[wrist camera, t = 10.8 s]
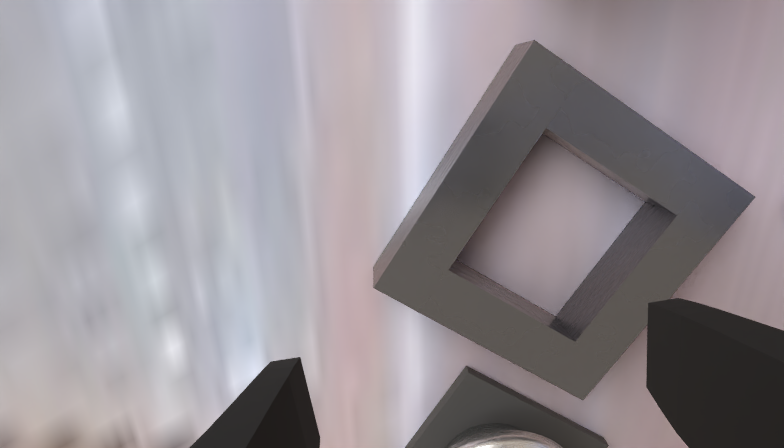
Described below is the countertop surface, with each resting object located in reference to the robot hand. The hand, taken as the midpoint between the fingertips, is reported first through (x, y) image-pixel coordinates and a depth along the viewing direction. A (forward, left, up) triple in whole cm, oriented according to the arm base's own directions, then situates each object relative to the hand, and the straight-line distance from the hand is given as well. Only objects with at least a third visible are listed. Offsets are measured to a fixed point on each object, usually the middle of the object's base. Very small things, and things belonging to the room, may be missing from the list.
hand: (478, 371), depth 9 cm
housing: (-4, -3, -9) cm, 11 cm away
